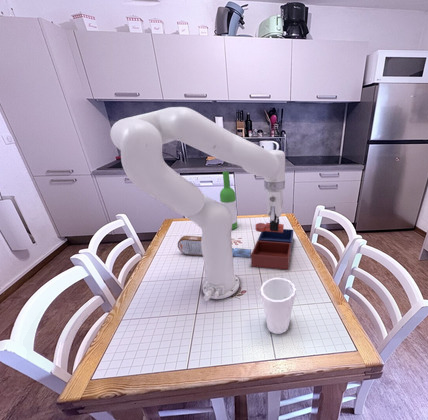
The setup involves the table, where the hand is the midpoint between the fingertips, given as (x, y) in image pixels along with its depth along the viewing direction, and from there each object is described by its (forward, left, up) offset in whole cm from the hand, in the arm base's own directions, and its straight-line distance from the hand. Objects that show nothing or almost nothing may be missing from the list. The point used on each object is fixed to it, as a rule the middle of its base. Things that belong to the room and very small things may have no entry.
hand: (274, 228), depth 94 cm
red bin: (-1, +1, -14) cm, 14 cm away
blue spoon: (0, +16, -14) cm, 21 cm away
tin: (-2, +34, -14) cm, 37 cm away
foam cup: (-33, -6, -14) cm, 36 cm away
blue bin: (+11, +1, -14) cm, 18 cm away
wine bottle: (+25, +28, -14) cm, 40 cm away
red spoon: (0, +2, -1) cm, 2 cm away
